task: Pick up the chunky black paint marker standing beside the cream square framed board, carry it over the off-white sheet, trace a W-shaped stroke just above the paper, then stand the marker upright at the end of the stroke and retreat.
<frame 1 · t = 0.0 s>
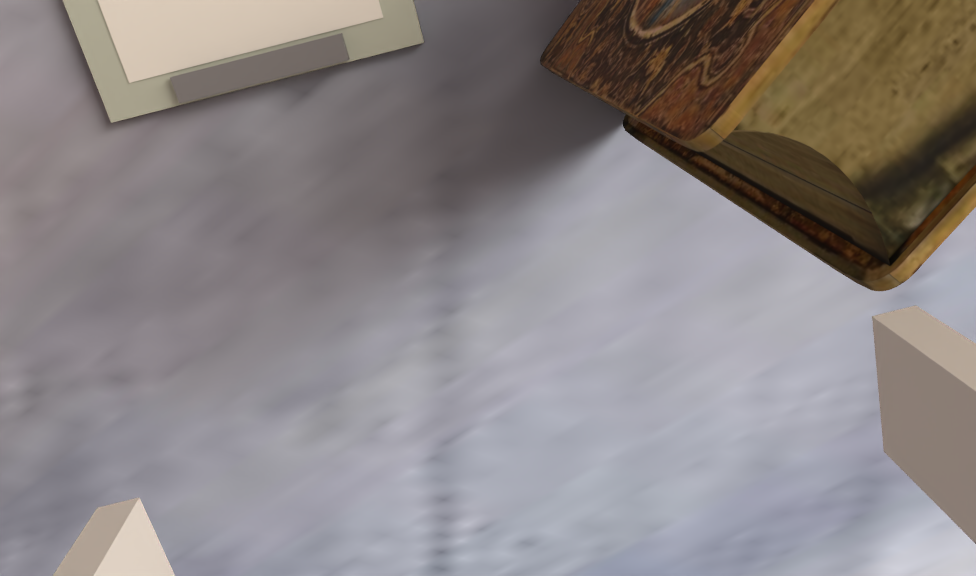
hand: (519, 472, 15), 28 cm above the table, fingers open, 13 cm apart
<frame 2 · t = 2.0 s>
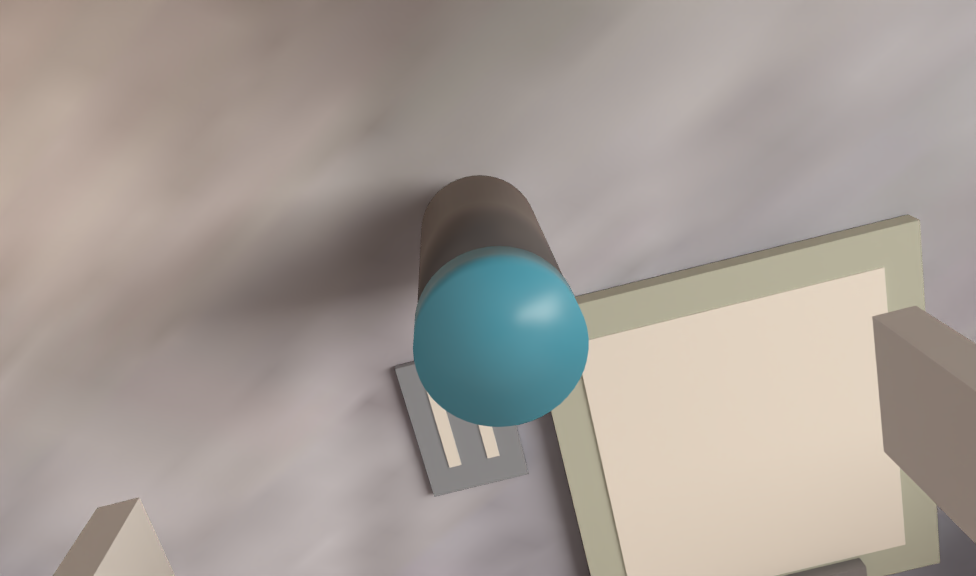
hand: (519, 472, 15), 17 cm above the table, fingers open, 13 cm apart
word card: (463, 419, 33), on the table
cream square framed board: (743, 439, 34), on the table
marker: (476, 217, 31), on the table
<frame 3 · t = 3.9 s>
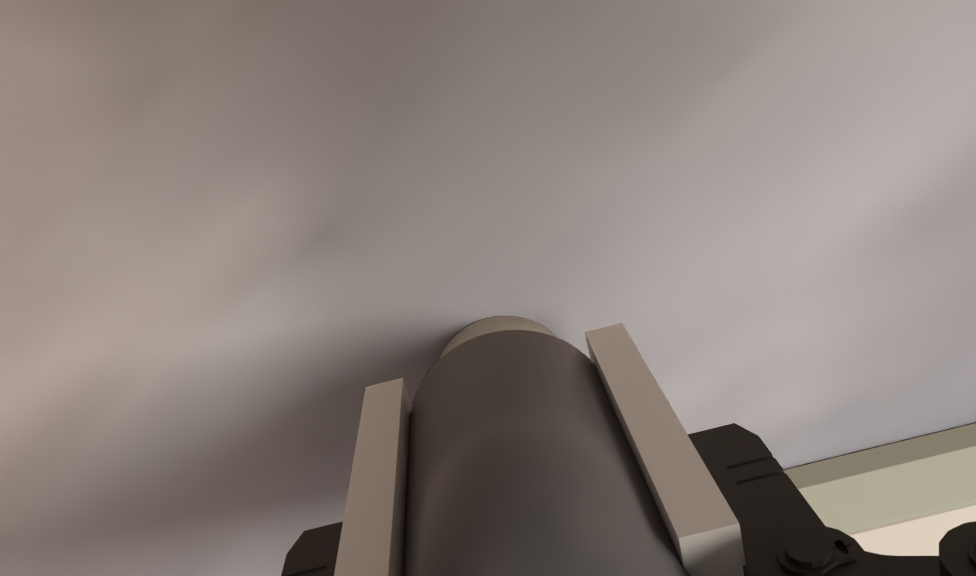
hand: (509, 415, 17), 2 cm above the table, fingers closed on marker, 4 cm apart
marker: (503, 379, 18), on the table, touching gripper
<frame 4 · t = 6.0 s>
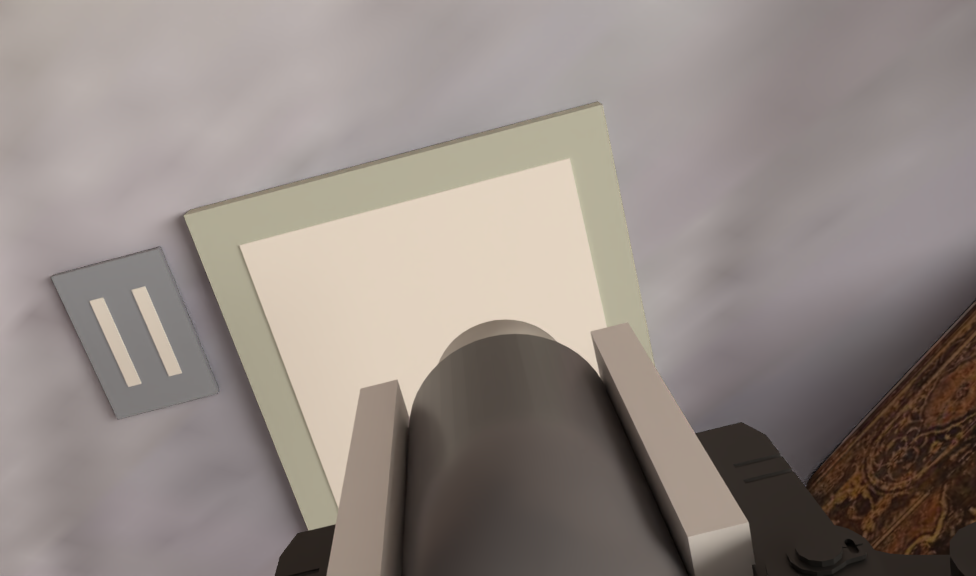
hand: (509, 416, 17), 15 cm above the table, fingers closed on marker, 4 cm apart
book: (974, 376, 34), on the table
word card: (139, 334, 31), on the table
cream square framed board: (451, 354, 32), on the table
marker: (503, 383, 18), point 13 cm above the table, touching gripper
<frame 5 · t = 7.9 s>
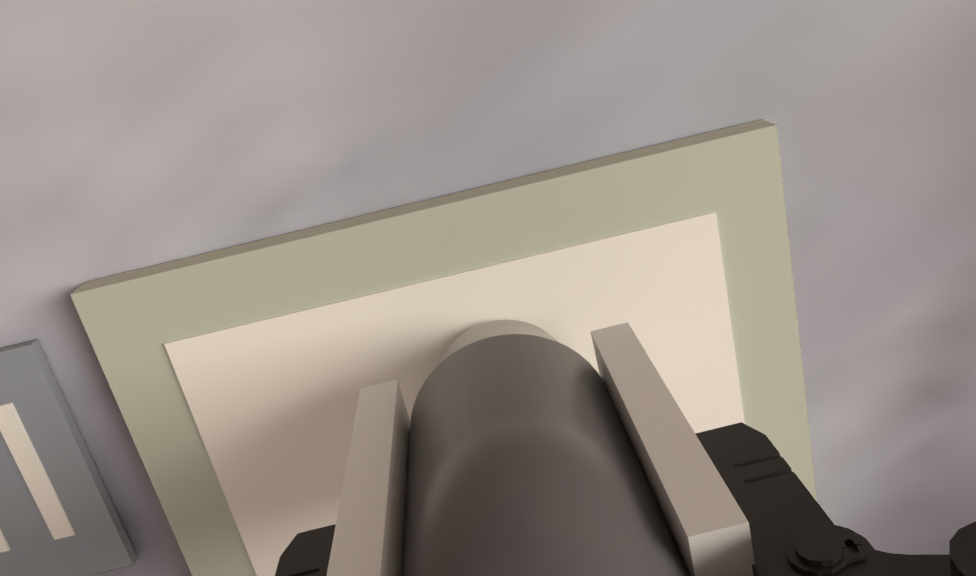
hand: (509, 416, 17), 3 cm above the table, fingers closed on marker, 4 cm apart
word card: (7, 473, 19), on the table
cream square framed board: (502, 507, 20), on the table
marker: (504, 383, 18), point 1 cm above the table, touching gripper
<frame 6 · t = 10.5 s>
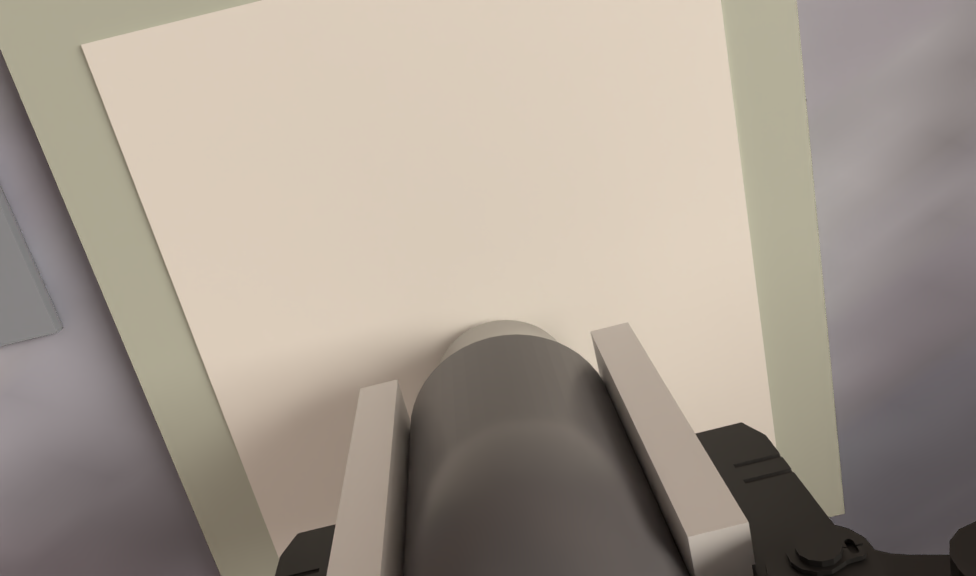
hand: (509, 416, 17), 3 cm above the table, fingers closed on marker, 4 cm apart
cream square framed board: (470, 274, 18), on the table
marker: (504, 383, 18), point 1 cm above the table, touching gripper
when the fingers open (3 cm above the table, at t = 11.9 s): marker stays where it is, resting on cream square framed board.
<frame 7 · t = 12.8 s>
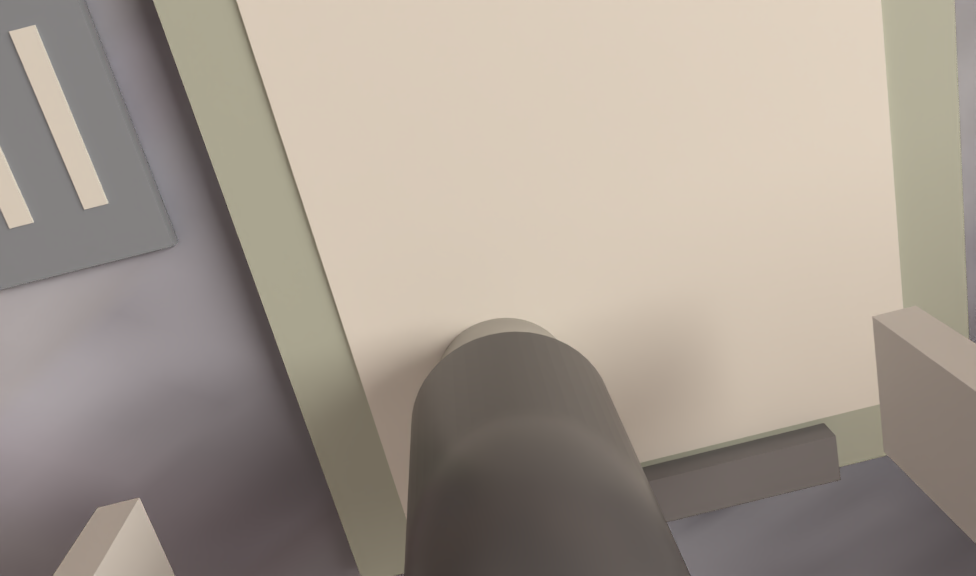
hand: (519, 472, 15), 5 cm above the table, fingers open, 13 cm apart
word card: (29, 128, 17), on the table
cream square framed board: (596, 183, 18), on the table
marker: (504, 380, 18), point 1 cm above the table, touching cream square framed board
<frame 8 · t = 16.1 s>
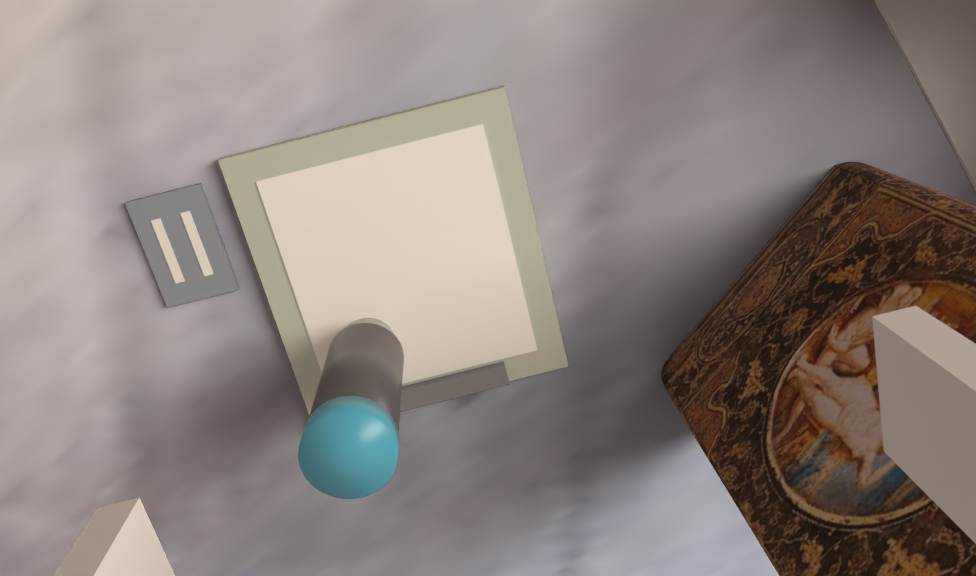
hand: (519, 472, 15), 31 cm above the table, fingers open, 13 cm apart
book: (782, 289, 47), on the table
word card: (184, 245, 44), on the table
cream square framed board: (403, 264, 45), on the table
marker: (368, 342, 46), point 1 cm above the table, touching cream square framed board
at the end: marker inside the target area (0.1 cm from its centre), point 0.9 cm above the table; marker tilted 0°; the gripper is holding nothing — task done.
